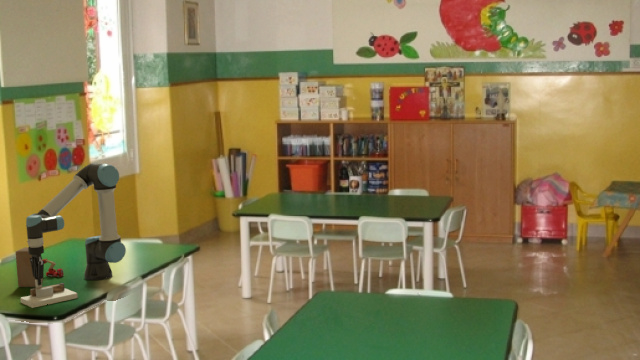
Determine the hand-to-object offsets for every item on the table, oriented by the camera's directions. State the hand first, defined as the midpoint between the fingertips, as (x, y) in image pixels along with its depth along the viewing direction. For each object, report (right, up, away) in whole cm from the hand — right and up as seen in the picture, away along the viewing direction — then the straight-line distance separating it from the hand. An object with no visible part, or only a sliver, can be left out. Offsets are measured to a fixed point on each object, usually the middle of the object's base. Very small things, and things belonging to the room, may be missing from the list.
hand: (39, 290), depth 440 cm
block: (-14, -1, +28) cm, 31 cm away
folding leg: (+4, -1, +1) cm, 5 cm away
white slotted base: (+6, -4, -3) cm, 8 cm away
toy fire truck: (-8, +2, +47) cm, 47 cm away
